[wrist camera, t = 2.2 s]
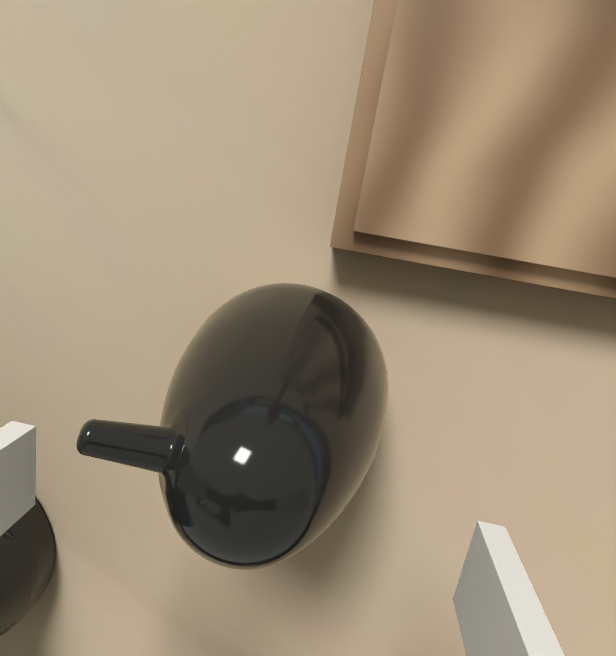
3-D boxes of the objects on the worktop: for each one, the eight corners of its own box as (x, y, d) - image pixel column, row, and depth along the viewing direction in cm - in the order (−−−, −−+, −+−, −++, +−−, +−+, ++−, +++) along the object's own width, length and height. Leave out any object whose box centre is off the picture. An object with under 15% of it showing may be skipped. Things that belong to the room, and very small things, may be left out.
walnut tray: (331, 243, 25) (329, 247, 22) (404, -155, 21) (412, -215, 18) (662, 302, 24) (704, 315, 22) (817, -100, 20) (897, -153, 17)
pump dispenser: (244, 242, 26) (102, 285, 11) (412, 317, 26) (489, 456, 11) (186, 394, 28) (10, 589, 14) (338, 461, 29) (323, 723, 14)
